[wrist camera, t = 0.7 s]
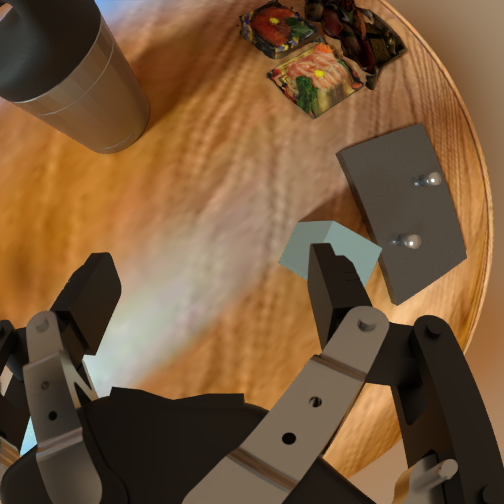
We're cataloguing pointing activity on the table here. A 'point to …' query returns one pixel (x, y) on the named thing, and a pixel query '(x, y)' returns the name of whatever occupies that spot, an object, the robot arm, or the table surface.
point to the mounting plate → (405, 209)
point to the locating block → (342, 244)
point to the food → (321, 49)
